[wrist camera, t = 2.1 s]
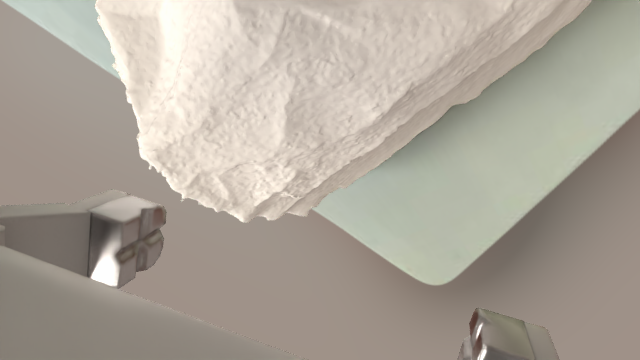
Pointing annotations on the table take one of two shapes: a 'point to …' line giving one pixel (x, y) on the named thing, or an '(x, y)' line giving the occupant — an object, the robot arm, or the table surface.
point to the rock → (305, 85)
